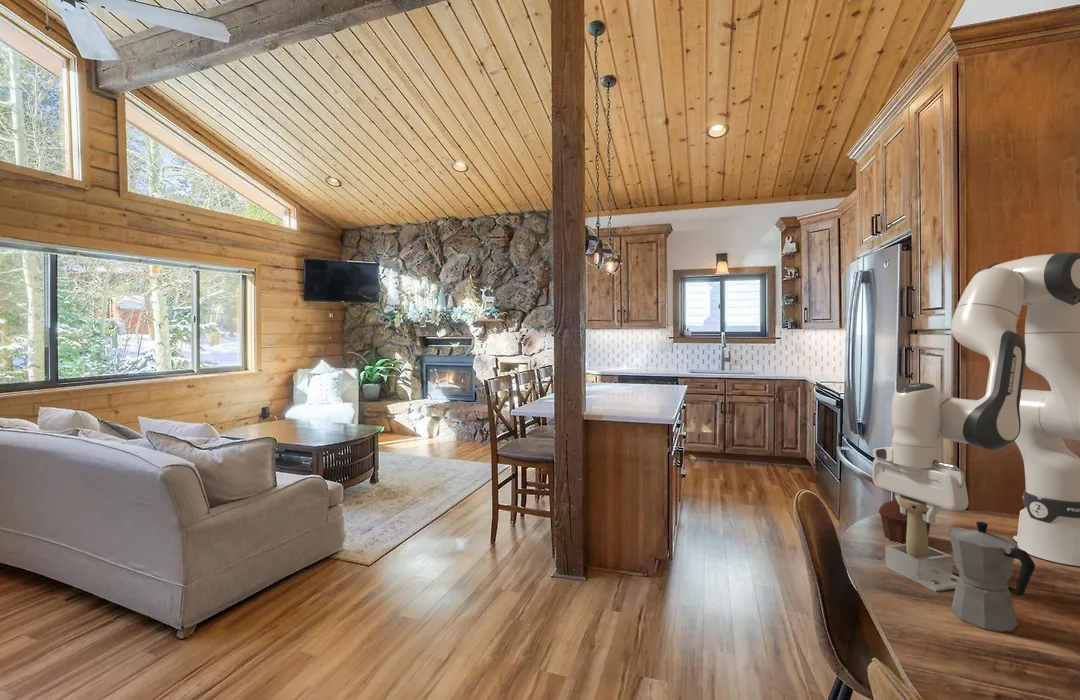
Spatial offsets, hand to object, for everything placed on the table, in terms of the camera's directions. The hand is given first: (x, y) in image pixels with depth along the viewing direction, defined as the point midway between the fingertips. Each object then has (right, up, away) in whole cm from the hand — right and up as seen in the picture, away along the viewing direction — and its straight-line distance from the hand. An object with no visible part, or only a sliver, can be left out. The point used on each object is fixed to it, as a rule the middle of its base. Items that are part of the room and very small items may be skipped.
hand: (917, 518), depth 112 cm
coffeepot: (-2, -13, -20) cm, 24 cm away
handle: (0, -11, 0) cm, 11 cm away
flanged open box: (+1, -12, -2) cm, 12 cm away
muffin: (+11, -12, +18) cm, 25 cm away
